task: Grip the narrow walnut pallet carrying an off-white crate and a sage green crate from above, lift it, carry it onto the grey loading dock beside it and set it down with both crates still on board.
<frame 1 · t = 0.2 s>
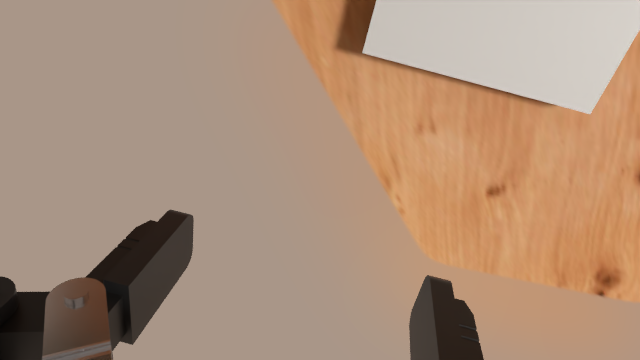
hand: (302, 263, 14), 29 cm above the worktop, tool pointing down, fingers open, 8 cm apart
dock: (497, 6, 34), on the worktop
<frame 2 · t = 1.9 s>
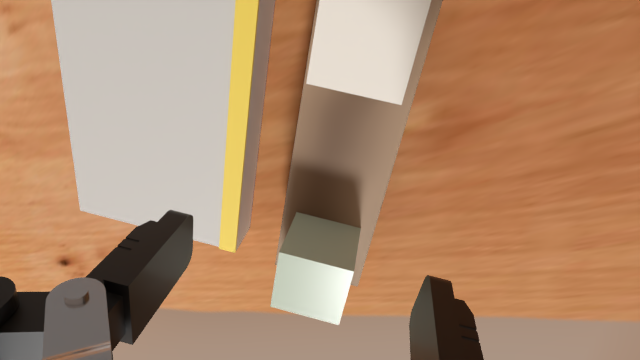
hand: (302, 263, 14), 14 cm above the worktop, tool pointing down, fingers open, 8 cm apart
green crate: (322, 245, 25), point 4 cm above the worktop, touching pallet
pallet: (352, 126, 26), on the worktop, touching green crate, white crate
dock: (177, 85, 27), on the worktop
white crate: (371, 31, 19), point 4 cm above the worktop, touching pallet
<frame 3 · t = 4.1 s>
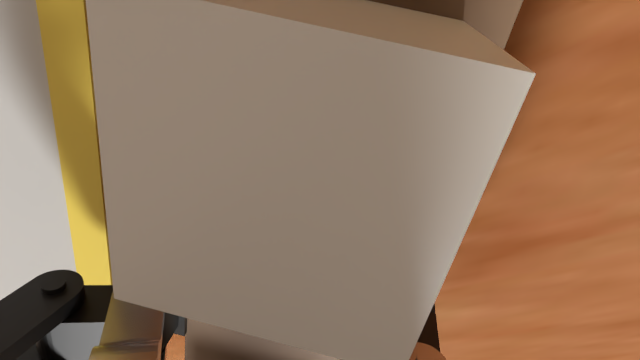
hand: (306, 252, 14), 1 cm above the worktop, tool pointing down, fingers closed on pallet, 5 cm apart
pallet: (312, 235, 15), on the worktop, touching green crate, gripper, white crate
dock: (14, 161, 16), on the worktop
white crate: (327, 106, 8), point 4 cm above the worktop, touching pallet
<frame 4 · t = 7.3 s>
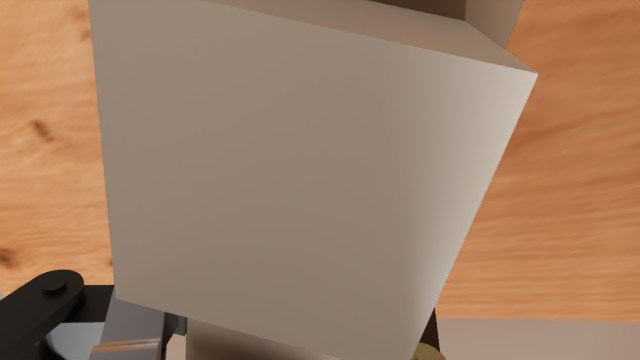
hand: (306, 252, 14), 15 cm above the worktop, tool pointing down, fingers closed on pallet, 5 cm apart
pallet: (313, 235, 15), point 14 cm above the worktop, touching green crate, gripper, white crate
white crate: (328, 106, 8), point 18 cm above the worktop, touching pallet
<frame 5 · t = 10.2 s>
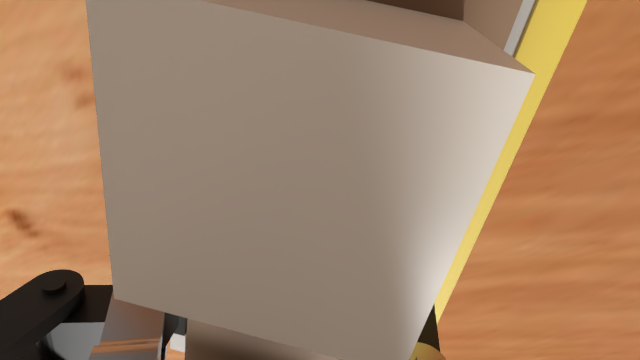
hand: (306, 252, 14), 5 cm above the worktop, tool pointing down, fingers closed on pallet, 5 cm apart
pallet: (312, 235, 15), point 4 cm above the worktop, touching green crate, gripper, white crate
dock: (325, 185, 18), on the worktop
white crate: (327, 106, 8), point 8 cm above the worktop, touching pallet
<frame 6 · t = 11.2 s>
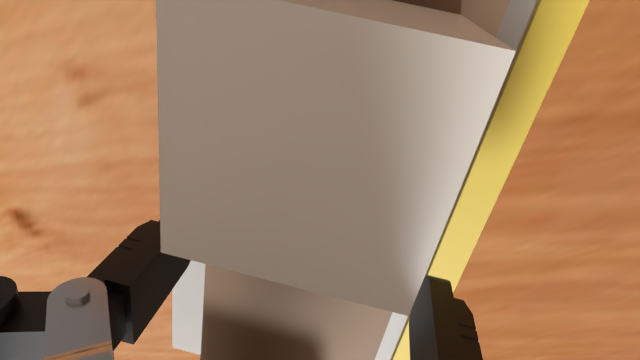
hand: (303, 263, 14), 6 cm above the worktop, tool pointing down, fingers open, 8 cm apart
pallet: (319, 220, 16), point 3 cm above the worktop, touching dock, green crate, white crate
dock: (327, 184, 18), on the worktop
white crate: (339, 92, 9), point 7 cm above the worktop, touching pallet
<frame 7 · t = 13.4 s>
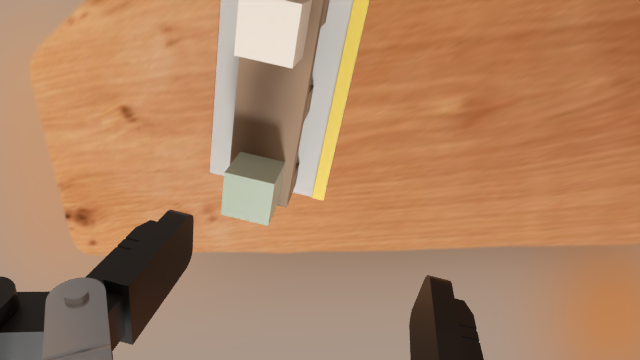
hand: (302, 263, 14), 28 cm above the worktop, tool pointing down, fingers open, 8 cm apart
green crate: (260, 176, 35), point 7 cm above the worktop, touching pallet
pallet: (281, 92, 36), point 3 cm above the worktop, touching dock, green crate, white crate
dock: (286, 83, 39), on the worktop
white crate: (280, 23, 29), point 7 cm above the worktop, touching pallet
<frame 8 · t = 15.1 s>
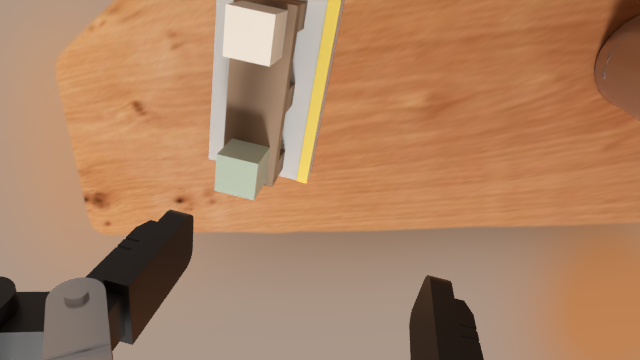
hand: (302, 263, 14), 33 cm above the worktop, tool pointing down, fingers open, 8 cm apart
green crate: (249, 160, 41), point 7 cm above the worktop, touching pallet
pallet: (268, 88, 42), point 3 cm above the worktop, touching dock, green crate, white crate
dock: (274, 81, 45), on the worktop
white crate: (262, 29, 35), point 7 cm above the worktop, touching pallet
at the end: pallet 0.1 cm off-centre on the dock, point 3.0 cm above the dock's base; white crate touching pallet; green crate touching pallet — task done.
